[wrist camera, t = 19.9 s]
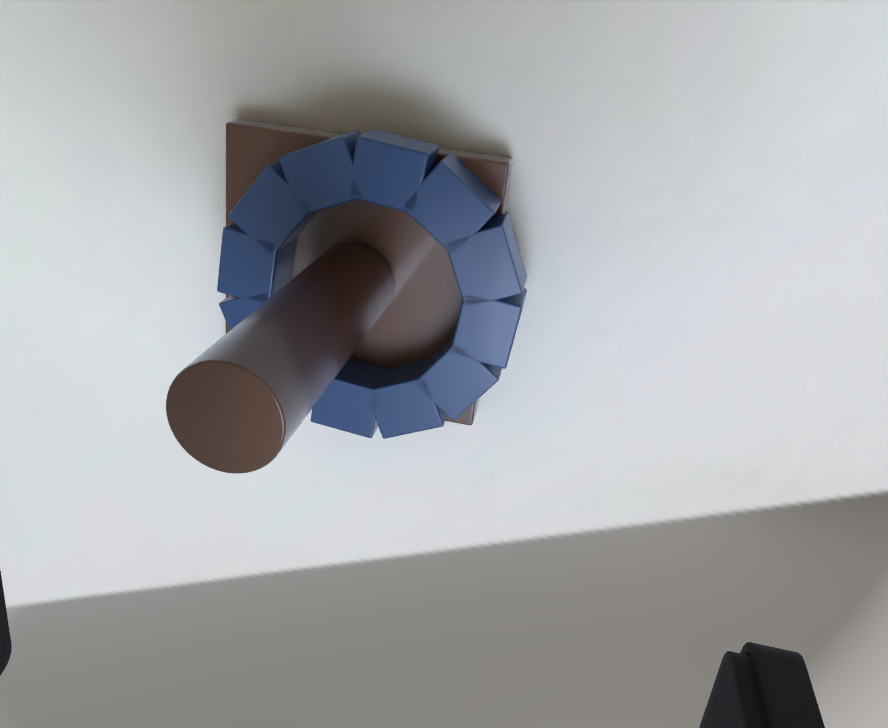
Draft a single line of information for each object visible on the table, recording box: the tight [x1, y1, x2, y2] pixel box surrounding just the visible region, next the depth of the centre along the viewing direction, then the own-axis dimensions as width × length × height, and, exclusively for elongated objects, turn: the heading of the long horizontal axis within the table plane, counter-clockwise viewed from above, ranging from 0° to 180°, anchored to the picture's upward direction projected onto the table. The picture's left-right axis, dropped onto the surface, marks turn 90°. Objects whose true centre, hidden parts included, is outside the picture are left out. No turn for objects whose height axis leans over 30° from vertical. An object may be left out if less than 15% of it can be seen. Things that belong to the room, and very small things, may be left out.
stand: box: [166, 119, 513, 473], centre depth 20 cm, size 8×8×10 cm
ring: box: [217, 129, 527, 439], centre depth 22 cm, size 8×8×2 cm
